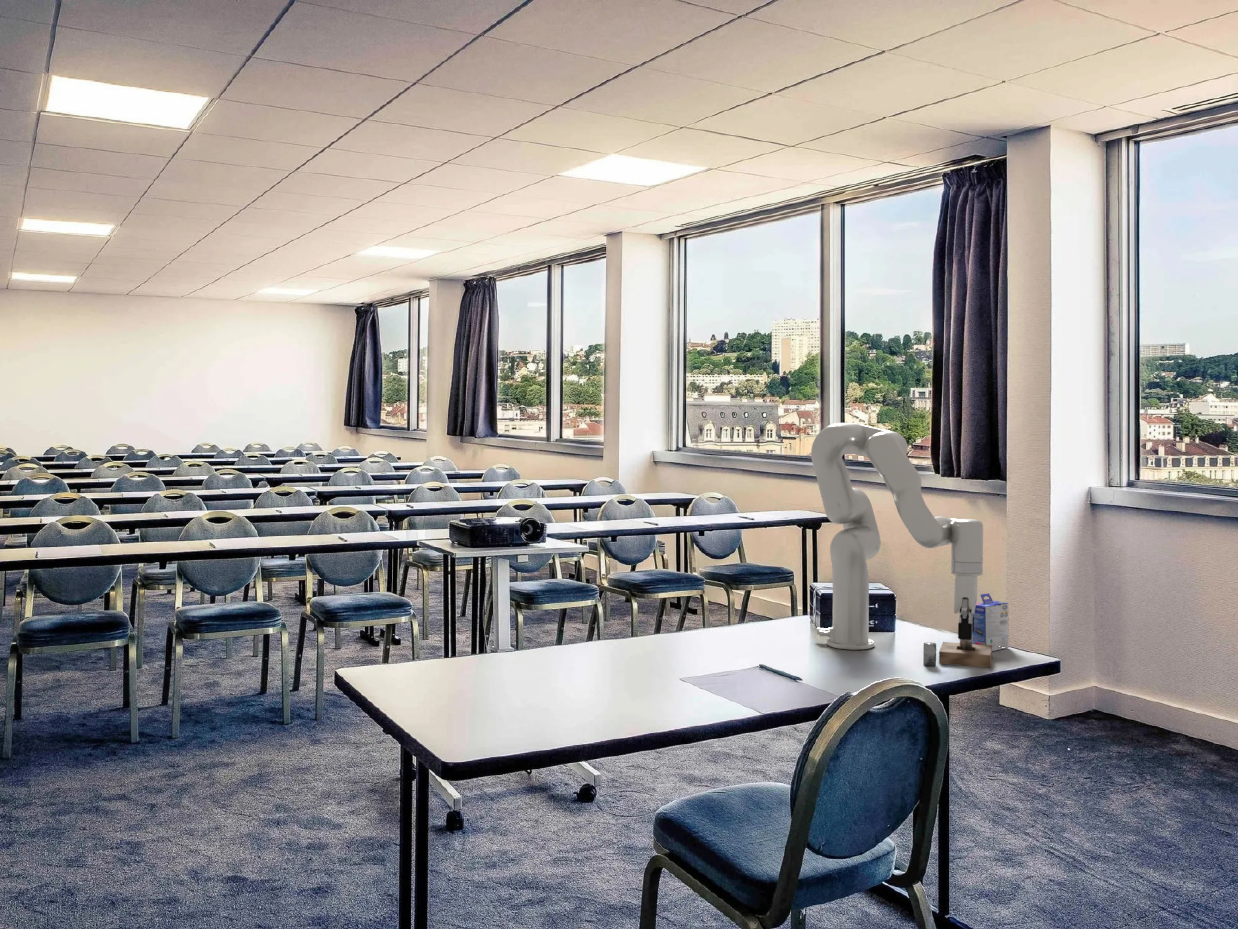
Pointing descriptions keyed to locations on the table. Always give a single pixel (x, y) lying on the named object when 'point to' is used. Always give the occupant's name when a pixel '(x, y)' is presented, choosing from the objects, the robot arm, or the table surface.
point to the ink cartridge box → (991, 624)
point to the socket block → (965, 655)
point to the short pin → (929, 654)
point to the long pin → (966, 641)
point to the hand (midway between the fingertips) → (966, 635)
